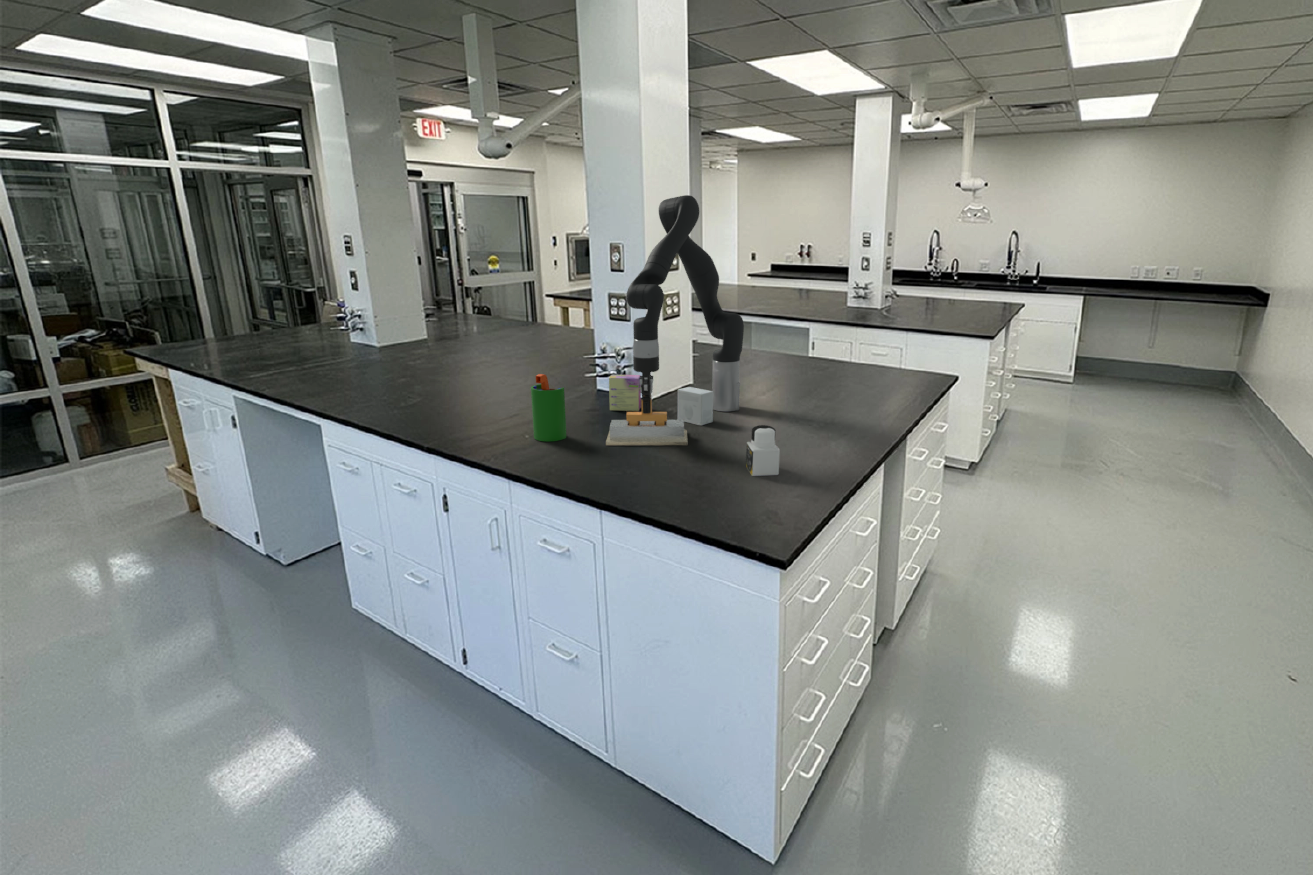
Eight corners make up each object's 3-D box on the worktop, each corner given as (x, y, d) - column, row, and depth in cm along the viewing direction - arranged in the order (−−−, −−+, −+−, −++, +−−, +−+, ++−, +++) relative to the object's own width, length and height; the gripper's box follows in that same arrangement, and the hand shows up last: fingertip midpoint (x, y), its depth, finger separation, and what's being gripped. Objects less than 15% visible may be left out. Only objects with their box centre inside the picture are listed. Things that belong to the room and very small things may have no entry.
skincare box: (713, 421, 214) (714, 390, 210) (701, 426, 209) (701, 394, 206) (689, 416, 220) (689, 385, 217) (676, 420, 216) (676, 389, 213)
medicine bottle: (745, 466, 174) (747, 423, 170) (771, 465, 174) (773, 422, 171) (751, 476, 167) (753, 431, 163) (778, 475, 167) (781, 430, 164)
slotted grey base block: (686, 432, 202) (686, 417, 201) (687, 445, 191) (687, 428, 189) (609, 433, 203) (609, 417, 202) (605, 445, 192) (605, 429, 190)
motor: (571, 434, 202) (567, 371, 196) (557, 443, 194) (553, 377, 188) (542, 431, 205) (537, 369, 199) (527, 440, 197) (522, 375, 191)
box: (641, 407, 232) (640, 374, 228) (639, 411, 226) (638, 378, 223) (612, 406, 233) (611, 374, 229) (609, 410, 227) (608, 377, 224)
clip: (667, 432, 198) (666, 397, 194) (666, 435, 195) (666, 399, 192) (627, 432, 198) (626, 397, 195) (626, 435, 195) (625, 400, 192)
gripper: (658, 359, 182) (659, 418, 188) (659, 349, 196) (660, 405, 201) (631, 359, 183) (633, 418, 188) (634, 350, 196) (635, 405, 201)
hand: (647, 411), depth 194 cm, fingers closed on clip, 2 cm apart
